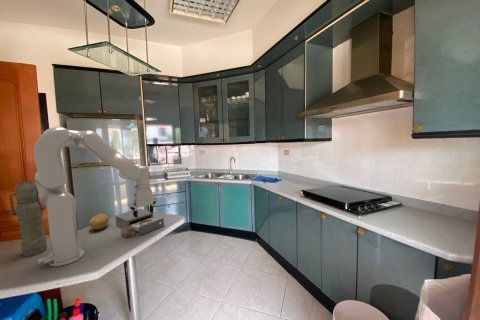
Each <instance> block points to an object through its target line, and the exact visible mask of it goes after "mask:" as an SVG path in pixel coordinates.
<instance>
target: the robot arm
mask: <svg viewBox="0 0 480 320" xmlns="http://www.w3.org/2000/svg"><path fill="white" fill-rule="evenodd" d="M63 148H77V149H78V148H80V149H81V148H83V149H86V150H87V151H88V152H89V153H91V154H92V155H93V156H95V157H96V158H97V159H98V160H99V161H101V163H103V164H105V165H107V166H111V167H112V168H115V169H116V170H117V171H118V176H119V177H120V178H121V179H122V180H126V181H131V182H135V184H134V185H133V189H134V192H133V200H132V201H130V202H129V203H128V204H127V206H128V208H129V209H130V210H131V211H133V216H134V217H136V218H137V217H138V211H137V209H139V208H143V207H147V206H148V208H149V209H148V211H149V212H150V213H153V214H154V211H155V210H154V206H155V204H156V203H157V200H158V198H157V197H154V195H153V190H152V187H150V186H151V185H150V169H149V166H147V165H136V164H135V163H134V162H133V161H132V160H130V159H129V158H128V157H126V156H125V155H123V154H121V153H120V152H119V151H118V150H116V149H115V148H114V147H112V145H110V143H108V142H107V141H106V140H105V139H104V138H102V137H101V136H100V135H99V134H98V133H97V132H96V131H93V130H90V129H89V130H88V129H87V130H72V129H71V130H70V129H68V128H66V127H62V126H54V127H51V128H48V129H46V130H44V131H43V133H42V134H41V135H40V137H39V138H38V139H37V140H36V142H35V144H34V147H33V157H34V162H35V167H36V169H37V172H36V173H35V175H34V182H35V184H36V186H37V190H38V195H39V200H40V203H41V204H42V206H43V205H44V206H45V207H46V211H47V222H48V223H47V224H48V230H49V238H50V245H51V251H50V253H49V254H48V255H47V256H44V257H41V258H38V259H37V262H38V265H40V264H42V263H43V264H44V265H45V264H48V265H49V266H51V267H60V266H65V265H69V264H72V263H73V262H76V261H78V260H80V259H81V258H83V256H84V255H85V249H82V248H80V239H79V231H78V222H77V214H76V213H77V212H76V210H77V208H76V206H77V203H76V202H77V201H76V198H75V196H74V195H73V194H72V193H70V192H68V191H67V190H66V186H65V185H66V183H67V181H68V177H67V173H66V172H67V171H66V170H65V167H64V163H63V162H64V161H63V158H62V150H63Z"/></svg>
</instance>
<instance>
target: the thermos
mask: <svg viewBox="0 0 480 320" xmlns="http://www.w3.org/2000/svg"><path fill="white" fill-rule="evenodd" d="M13 196H15V200H16V208H15V207H14V201H13ZM8 199H9V204H10V211H11V215H12V216H15V217H16V220H17V221H18V224H19V231H20V237H21V242H20V249H21V251H22V256H23V257H31V256H35V255H39V254H41V253H43V252H46V251H47V250H48V245H47V244H48V242H47V241H48V239H47V236H46V234H45V229H44V223H43V216H44V214H43V213H44V211H45V210H47V208H46V207H45V206H44V205H43V204H42V202H41V200H40V196H39V193H38V190H37V186H36V183H35V181H33V180H31V181H29V180H28V181H21V182H18V183H16V184H15V188H14V192H12V193H11V194H9V198H8Z"/></svg>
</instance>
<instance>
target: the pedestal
mask: <svg viewBox="0 0 480 320" xmlns="http://www.w3.org/2000/svg"><path fill="white" fill-rule="evenodd" d="M120 233H121V238H124V239H129V238H131V237H134V236H136V230H135V228H133V227H131V226H129V227H127V228H124V229H123V228H121V230H120Z"/></svg>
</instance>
